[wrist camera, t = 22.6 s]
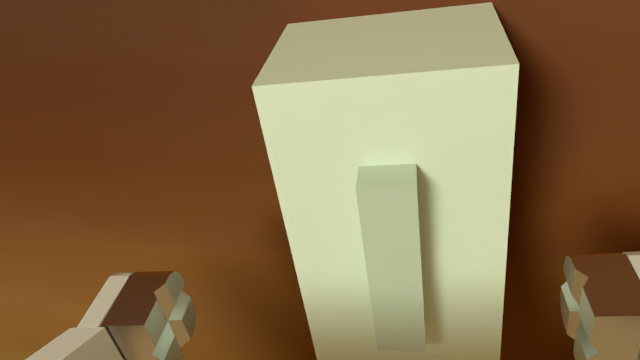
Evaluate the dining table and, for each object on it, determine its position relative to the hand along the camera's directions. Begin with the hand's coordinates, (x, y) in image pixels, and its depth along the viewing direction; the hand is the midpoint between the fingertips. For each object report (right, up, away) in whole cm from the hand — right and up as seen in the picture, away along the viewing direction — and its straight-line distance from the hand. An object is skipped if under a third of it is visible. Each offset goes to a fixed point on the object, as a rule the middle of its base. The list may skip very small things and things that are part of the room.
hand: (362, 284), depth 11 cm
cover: (+1, +3, +4) cm, 5 cm away
